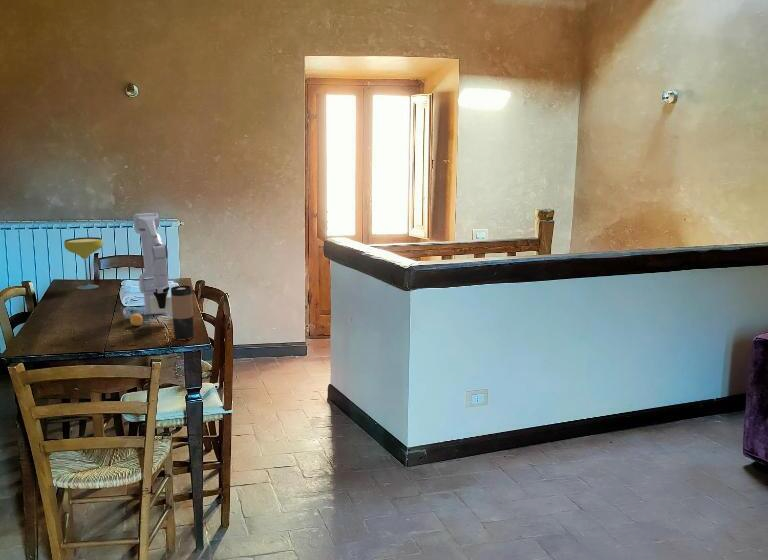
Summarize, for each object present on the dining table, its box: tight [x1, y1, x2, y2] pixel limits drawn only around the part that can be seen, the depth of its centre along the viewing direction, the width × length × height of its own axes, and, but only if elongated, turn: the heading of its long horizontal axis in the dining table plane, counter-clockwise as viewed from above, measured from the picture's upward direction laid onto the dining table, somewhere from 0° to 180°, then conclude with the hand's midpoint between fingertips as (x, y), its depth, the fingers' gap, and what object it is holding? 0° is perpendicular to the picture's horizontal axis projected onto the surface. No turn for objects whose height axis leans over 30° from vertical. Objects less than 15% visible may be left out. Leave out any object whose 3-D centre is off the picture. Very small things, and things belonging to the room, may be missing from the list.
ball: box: [129, 313, 144, 326], centre depth 289 cm, size 5×5×5 cm
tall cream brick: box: [150, 293, 172, 313], centre depth 290 cm, size 9×6×6 cm
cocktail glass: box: [63, 236, 103, 291], centre depth 361 cm, size 18×18×25 cm
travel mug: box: [170, 285, 195, 340], centre depth 269 cm, size 8×8×20 cm
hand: (162, 306), depth 291 cm, fingers closed on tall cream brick, 6 cm apart
